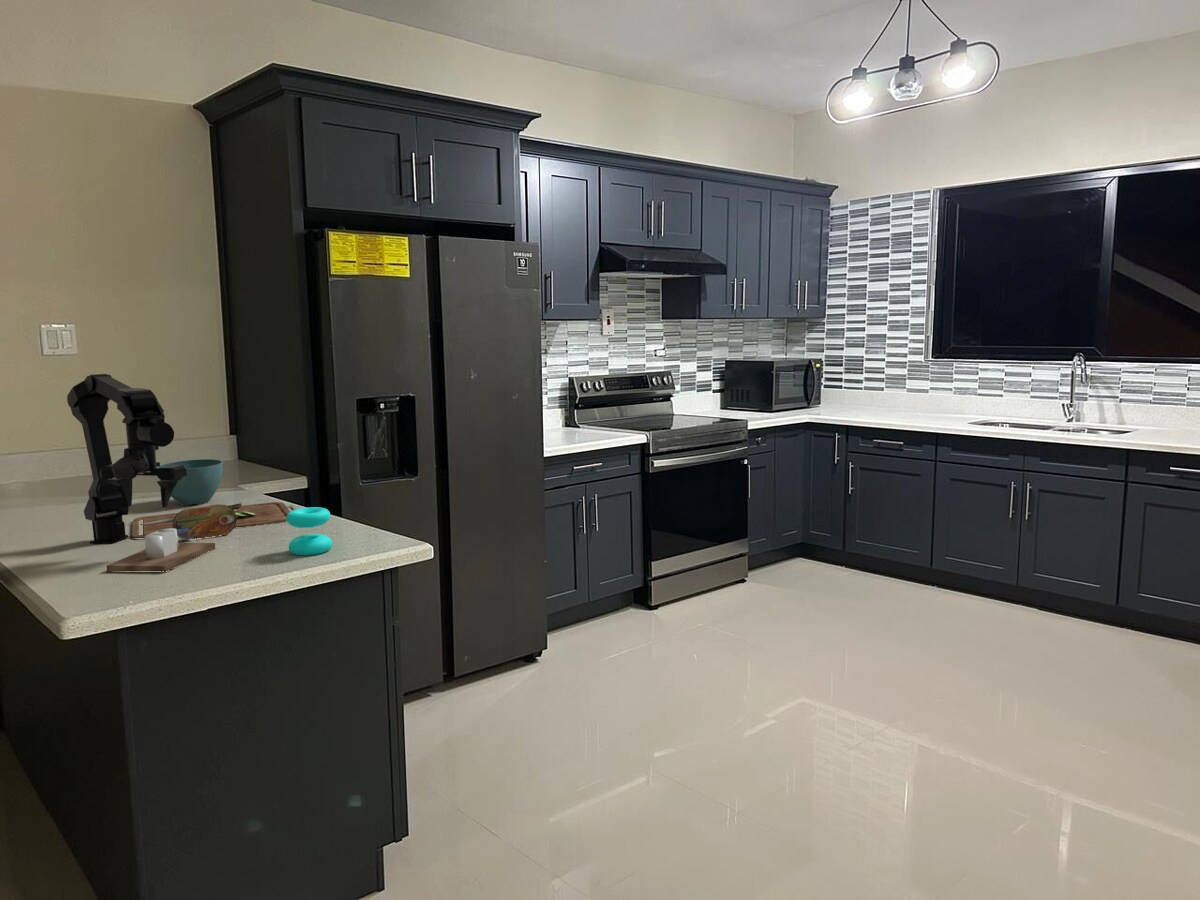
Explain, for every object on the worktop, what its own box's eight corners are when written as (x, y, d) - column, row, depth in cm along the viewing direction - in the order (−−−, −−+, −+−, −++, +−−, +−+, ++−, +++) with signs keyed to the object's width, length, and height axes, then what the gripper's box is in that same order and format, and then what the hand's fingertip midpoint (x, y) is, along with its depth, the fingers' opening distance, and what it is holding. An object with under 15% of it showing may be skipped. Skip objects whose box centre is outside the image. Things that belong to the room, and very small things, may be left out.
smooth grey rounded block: (142, 558, 196) (140, 537, 196) (166, 548, 205) (164, 528, 204) (158, 559, 196) (156, 537, 195) (182, 548, 205) (180, 528, 204)
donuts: (330, 504, 211) (329, 513, 201) (333, 544, 212) (332, 554, 203) (287, 508, 208) (284, 516, 198) (290, 548, 209) (287, 558, 200)
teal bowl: (225, 505, 261) (221, 465, 259) (158, 511, 255) (154, 470, 253) (226, 494, 278) (223, 457, 276) (164, 500, 271) (160, 461, 269)
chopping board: (121, 544, 219) (120, 532, 218) (123, 523, 242) (122, 512, 242) (304, 521, 239) (303, 510, 239) (290, 504, 263) (289, 494, 262)
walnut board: (107, 571, 192) (106, 565, 192) (161, 548, 211) (161, 542, 211) (165, 572, 190) (165, 566, 190) (215, 548, 210) (214, 542, 210)
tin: (175, 543, 216) (172, 511, 215) (173, 541, 219) (169, 509, 217) (238, 534, 225) (235, 502, 224) (235, 531, 227) (232, 500, 226)
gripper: (80, 447, 197) (87, 513, 200) (156, 449, 195) (162, 515, 197) (113, 440, 208) (119, 503, 210) (185, 441, 206) (190, 504, 208)
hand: (146, 506), depth 206 cm, fingers open, 9 cm apart
